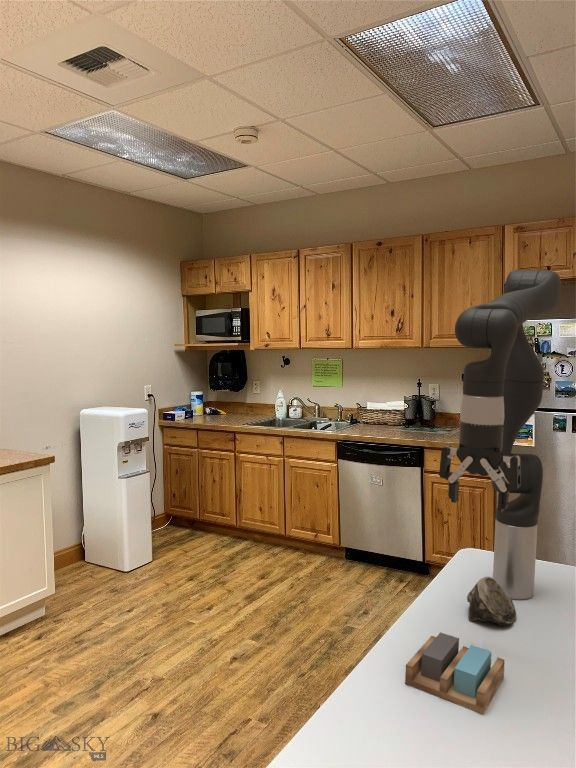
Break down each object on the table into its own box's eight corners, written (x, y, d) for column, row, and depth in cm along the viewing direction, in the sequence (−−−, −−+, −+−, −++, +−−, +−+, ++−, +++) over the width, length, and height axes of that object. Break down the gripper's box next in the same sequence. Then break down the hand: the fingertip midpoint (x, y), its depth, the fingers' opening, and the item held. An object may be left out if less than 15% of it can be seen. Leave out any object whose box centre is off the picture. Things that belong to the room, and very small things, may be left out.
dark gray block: (439, 652, 110) (440, 632, 110) (458, 658, 108) (459, 638, 108) (421, 675, 103) (421, 653, 103) (440, 682, 101) (441, 660, 101)
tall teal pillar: (470, 665, 106) (471, 644, 106) (490, 672, 104) (491, 651, 104) (453, 690, 99) (454, 668, 98) (474, 698, 97) (476, 675, 96)
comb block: (430, 652, 112) (431, 635, 112) (503, 678, 104) (504, 659, 104) (405, 683, 102) (405, 664, 102) (483, 714, 94) (484, 693, 94)
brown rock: (520, 631, 119) (498, 587, 119) (477, 644, 122) (456, 601, 122) (516, 606, 129) (496, 565, 130) (477, 618, 132) (457, 578, 133)
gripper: (436, 418, 107) (432, 503, 109) (517, 427, 99) (511, 519, 100) (450, 413, 113) (447, 494, 115) (528, 421, 105) (522, 508, 106)
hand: (477, 506), depth 107 cm, fingers open, 8 cm apart
